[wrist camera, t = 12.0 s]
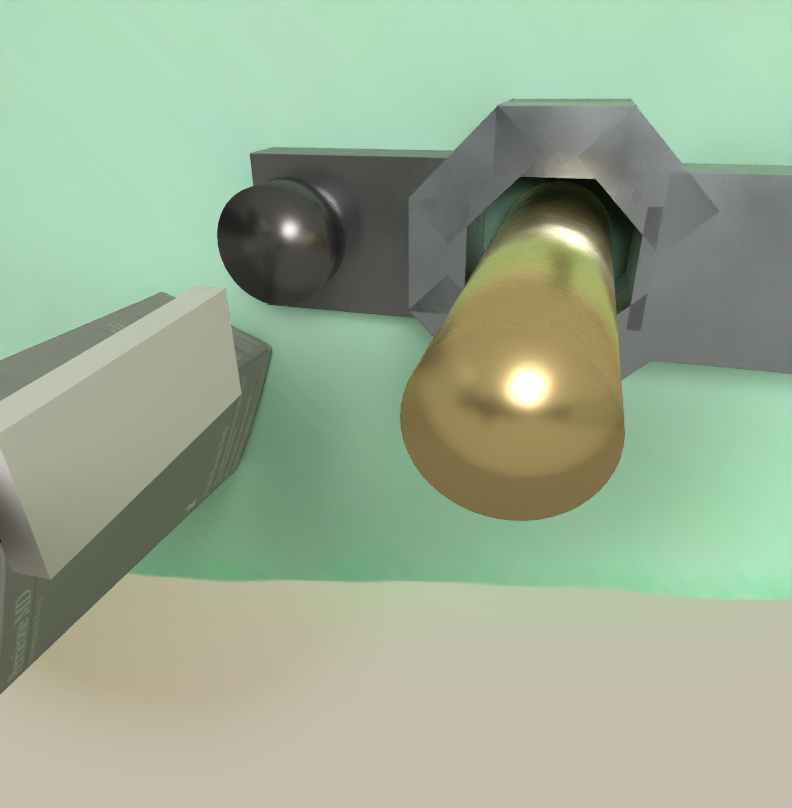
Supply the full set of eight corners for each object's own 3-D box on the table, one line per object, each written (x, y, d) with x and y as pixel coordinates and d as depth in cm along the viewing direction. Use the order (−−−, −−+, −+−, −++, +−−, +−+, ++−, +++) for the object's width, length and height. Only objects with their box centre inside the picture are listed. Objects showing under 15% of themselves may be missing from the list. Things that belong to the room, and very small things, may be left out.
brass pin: (499, 282, 25) (401, 502, 13) (506, 179, 23) (399, 317, 11) (602, 290, 24) (605, 536, 12) (618, 182, 22) (643, 339, 10)
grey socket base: (277, 325, 29) (235, 360, 26) (251, 98, 25) (196, 104, 21) (877, 383, 23) (925, 438, 20) (991, 98, 19) (1078, 105, 15)
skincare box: (242, 466, 34) (12, 727, 21) (127, 409, 34) (-172, 629, 21) (280, 337, 30) (17, 565, 16) (148, 273, 30) (-217, 444, 17)
